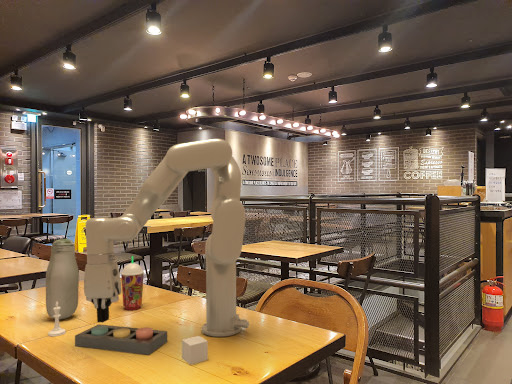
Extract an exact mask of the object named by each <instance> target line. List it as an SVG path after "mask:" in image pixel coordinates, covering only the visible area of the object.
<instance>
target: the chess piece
mask: <svg viewBox="0 0 512 384" xmlns="http://www.w3.org/2000/svg"><path fill="white" fill-rule="evenodd" d="M53 310H54V312H55V315H53V317H55V319H54V324H53V325H54V326H53V328H52V329H51V330H49V331H48V332H47V333H48V334H47V335H48V336H49V337H58V336H62V335H65V334H66V329H65V328H62V327H61V326H60V319H59V316H61V315H60V314H59V311H60V307H58V301H56V307H55V308H53Z"/></svg>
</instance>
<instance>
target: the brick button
mask: <svg viewBox="0 0 512 384" xmlns="http://www.w3.org/2000/svg"><path fill="white" fill-rule="evenodd" d="M153 330H154V329H153V328H152V327H149V326H148V327H147V326H146V327H140V329H137V330H136V339H137V340H146V341H148V340H150V339H151V338H153Z"/></svg>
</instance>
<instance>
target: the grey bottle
mask: <svg viewBox="0 0 512 384" xmlns="http://www.w3.org/2000/svg"><path fill="white" fill-rule="evenodd" d="M75 248H76V246H75V243H74V242H73V241H72V240H71V239H69V238H63V239H62V238H60V239H57V240H55V241H54V242H53V243H52V245H51V247H50V251H51V252H50V253H51V254H50V258H49V262H48V265H47V267H46V272H45V308H46V313H47V315H48V316H49V317H50V318H51V319H53V320H55V317H53V315H55V312H54V310H53V308H55V307H56V301H58V307H60V311H59V314H60V315H61V316H59V321H60V320H65V319H68V318H71V316H73V315H74V314H75V312H76V311H77V309H78V306H79V283H80V273H79V272H80V271H79V267H78V264H77V259H76V253H75V251H76V250H75Z"/></svg>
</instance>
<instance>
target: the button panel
mask: <svg viewBox="0 0 512 384" xmlns="http://www.w3.org/2000/svg"><path fill="white" fill-rule="evenodd" d="M99 326H107V327H108V333H106V334H104V335H102V336H101V335H92V334H91V330H92V329H93V328H95V327H99ZM122 328H127V329H130V335H129V336H127V337H125V338H119V337H113V332H114V331H115V330H117V329H122ZM140 328H141V327H140ZM140 328H138V327H129V326H120V325H119V326H118V325H109V324H101V323H100V324H99V323H98V324H96V325H94V326H92V327H90V328H87V329H85V330H83V331H81V332H79V333H77V334H75V335H74V346H75V347H78V348H86V349H95V350H102V351H104V350H105V351H112V352H113V351H114V352H121V353H128V354H138V355H146V356H150V355H151V354H153V352H155V351H157V350H158V349H159V348H160V347H162V346H164V345H165V344H167V342H168V331H167V330H159V329H158V330H157V329H153V338H151V339H150V340H148V341H146V340H137V339H136V330H137V329H140Z"/></svg>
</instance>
